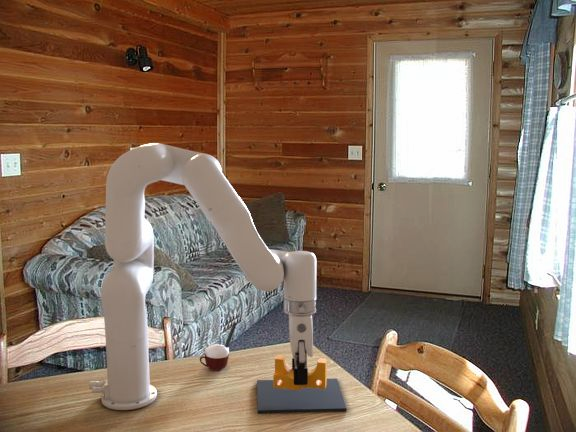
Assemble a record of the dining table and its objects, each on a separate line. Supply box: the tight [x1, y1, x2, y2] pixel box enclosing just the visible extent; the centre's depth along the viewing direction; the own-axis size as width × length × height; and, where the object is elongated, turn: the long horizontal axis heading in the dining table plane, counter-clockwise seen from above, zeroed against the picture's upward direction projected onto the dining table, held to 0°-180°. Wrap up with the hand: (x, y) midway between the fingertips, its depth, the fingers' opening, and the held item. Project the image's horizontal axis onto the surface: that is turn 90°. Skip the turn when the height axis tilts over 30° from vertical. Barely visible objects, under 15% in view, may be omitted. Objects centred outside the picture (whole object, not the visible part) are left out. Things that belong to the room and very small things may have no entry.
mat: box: [256, 377, 348, 415], centre depth 147 cm, size 20×16×1 cm
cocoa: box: [199, 320, 238, 371], centre depth 163 cm, size 10×6×12 cm, turn 89°
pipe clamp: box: [272, 354, 328, 390], centre depth 146 cm, size 12×4×6 cm, turn 79°
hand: (299, 378), depth 146 cm, fingers closed on pipe clamp, 4 cm apart
